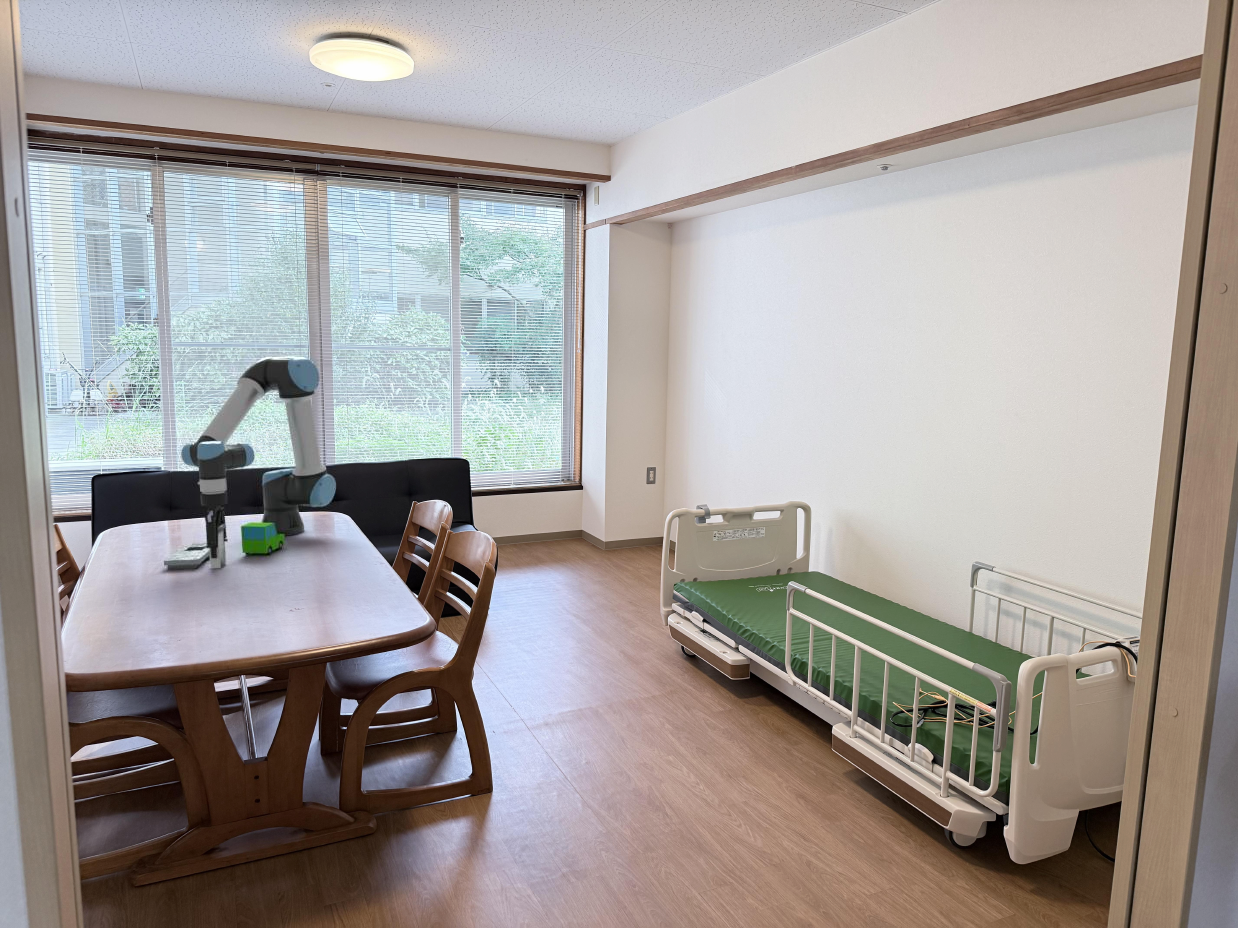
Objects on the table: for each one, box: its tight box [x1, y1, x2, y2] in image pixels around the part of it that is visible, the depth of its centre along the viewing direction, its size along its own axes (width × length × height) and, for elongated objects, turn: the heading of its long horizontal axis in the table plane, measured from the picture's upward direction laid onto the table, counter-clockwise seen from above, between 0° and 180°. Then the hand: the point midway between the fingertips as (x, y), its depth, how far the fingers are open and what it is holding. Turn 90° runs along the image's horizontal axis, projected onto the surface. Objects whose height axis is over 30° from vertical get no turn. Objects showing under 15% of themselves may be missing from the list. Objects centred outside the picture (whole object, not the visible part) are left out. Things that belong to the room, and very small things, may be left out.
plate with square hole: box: [163, 542, 210, 571], centre depth 277 cm, size 10×30×3 cm, turn 11°
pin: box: [218, 523, 227, 569], centre depth 265 cm, size 6×6×13 cm
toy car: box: [240, 522, 286, 556], centre depth 285 cm, size 10×13×10 cm
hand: (218, 565), depth 266 cm, fingers open, 6 cm apart
